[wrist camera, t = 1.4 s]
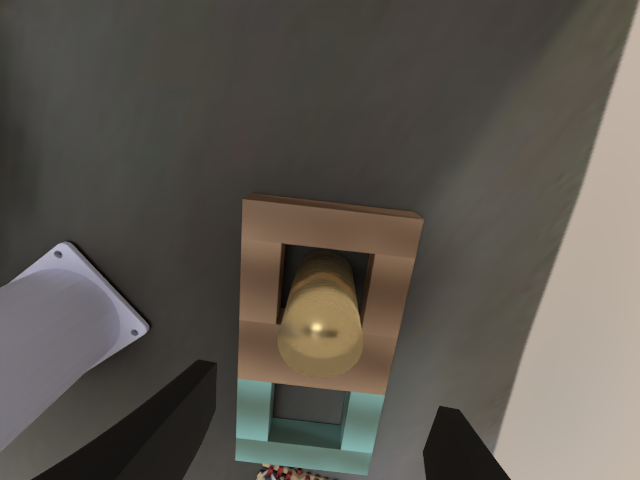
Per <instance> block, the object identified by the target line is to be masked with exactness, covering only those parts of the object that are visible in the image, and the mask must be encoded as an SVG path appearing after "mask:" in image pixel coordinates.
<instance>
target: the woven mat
mask: <svg viewBox="0 0 640 480" xmlns="http://www.w3.org/2000/svg"><path fill="white" fill-rule="evenodd" d="M262 466H265V467H268V468H269V469H267V470H266V471H265V472H263V471H260V472H259V474H258V475H257V477H258V479H257V478H256V480H328V479H325V478H321V477H318V476H314V475H311V474H307V473H305V472H303V473H301V470H298V469H297V471H295V470H294V469H290V468H287V467H283V466H280V465H272V464H263V465H262ZM273 469H274V470H277V474H275V473H273ZM282 472H283V473H286V476H285V477H284V476H281V474H282Z"/></svg>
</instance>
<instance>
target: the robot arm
mask: <svg viewBox="0 0 640 480" xmlns="http://www.w3.org/2000/svg"><path fill="white" fill-rule="evenodd" d="M60 252H61V253H62V255H61V254H60ZM135 330H136V331H137V332H136V331H135ZM148 330H149V325H148V323H147V322H146V321H145V320H144V319H143V318H142V317H141V316H140V315H139V314H138V313H137V312H136V311H135V310H134V309H133V308H132V306H131V305H130V304H129V303H128V302H127V301H126V300H125V299H124V298H123V297H122V296H121V295H120V294H119V293H118V292H117V291H116V290H115V289H114V288H113V286H112V285H111V284H110V283H109V282H108V281H107V280H106V279H105V278H104V277H103V276H102V275H101V274H100V273H99V272H98V271H97V270H96V269H95V268H94V266H93V265H92V264H91V263H90V262H89V261H88V260H87V259H86V258H85V257H84V256H83V255H82V254H81V253H80V252H79V251H78V250H77V249H76V248H75V246H74V245H72V244H71V243H69V242H62V243H60V244H58V245H56V246H55V247H54V248H53V249H51V250H50V251H49V252H48V253H46V254H45V255H44V256H43V257H41V258H40V259H39V260H37V261H36V262H35V263H34V264H32V265H31V266H30V267H29V268H27V269H26V270H25V271H24V272H22V273H21V274H20V275H19V276H17V277H16V278H15V279H13V280H12V281H11V282H10V283H8V284H7V285H4V286H2V287H0V452H1V451H2V450H3V449H4V448H6V447H7V446H8V445H9V444H10V443H11V442H12V441H13V440H14V439H15V438H16V437H17V436H18V435H19V434H20V433H22V432H23V431H24V430H25V429H26V428H27V427H28V426H29V425H30V424H31V423H32V422H33V421H34V420H35V419H36V418H38V417H39V416H40V415H41V414H42V413H43V412H44V411H45V410H46V409H47V408H48V407H49V406H50V405H51V404H52V403H54V402H55V401H56V400H57V399H58V398H59V397H60V396H61V395H62V394H63V393H64V392H65V391H66V390H67V389H68V388H70V387H71V386H72V385H73V384H74V383H75V382H76V381H77V380H78V379H79V378H80V377H81V376H82V375H83V374H84V373H86V372H87V371H88V370H90V369H91V368H93V367H94V366H96V365H98V364H99V363H101V362H102V361H104V360H105V359H107V358H108V357H110V356H112V355H113V354H115V353H116V352H118V351H119V350H121V349H123V348H124V347H126V346H127V345H129V344H130V343H132V342H133V341H135V340H137V339H138V338H140V337H141V336H143V335H144V334H145V333H146V332H147V331H148ZM216 372H217V363H214V362H209V361H204V360H197V361H196V362H194V363H193V364H192V365H191V366H190V367H188V368H187V369H186V370H185V371H184V372H182V373H181V374H180V375H179V376H177V377H176V378H175V379H174V380H173V381H171V382H170V383H169V384H168V385H166V386H165V387H164V388H163V389H161V390H160V391H159V392H158V393H156V394H155V395H154V396H152V397H151V398H150V399H149V400H147V401H146V402H145V403H143V404H142V405H141V406H140V407H138V408H137V409H136V410H134V411H133V412H132V413H130V414H129V415H128V416H126V417H125V418H124V419H122V420H121V421H119V422H118V423H117V424H115V425H114V426H112V427H111V428H110V429H108V430H107V431H105V432H104V433H103V434H101V435H100V436H98V437H97V438H96V439H94V440H93V441H91V442H90V443H88V444H87V445H85V446H84V447H82V448H81V449H79V450H78V451H76V452H75V453H73V454H72V455H70V456H68V457H67V458H65V459H64V460H62V461H61V462H59V463H57V464H56V465H54V466H53V467H51V468H50V469H48V470H46V471H45V472H43V473H41V474H40V475H38V476H36V477H35V478H33V479H31V480H182V479H183V477H184V476H185V474H186V472H187V470H188V468H189V466H190V464H191V463H192V461H193V459H194V457H195V455H196V453H197V451H198V449H199V447H200V446H201V444H202V441H203V439H204V437H205V434H206V432H207V430H208V427H209V425H210V422H211V420H212V417H213V415H214V412H215V408H216ZM423 457H424V465H425V474H426V480H511V479H510V478H509V477H508V476H507V474H506V473H505V471H504V470H503V469H502V467H501V466H500V465H499V463H498V462H497V461H496V459H495V458H494V457H493V455H492V454H491V453H490V451H489V450H488V448H487V447H486V446H485V444H484V443H483V442H482V440H481V439H480V437H479V436H478V435H477V433H476V432H475V431H474V429H473V428H472V426H471V425H470V424H469V422H468V421H467V420H466V418H465V417H464V415H463V414H462V413H461V411H460V410H459V409H453V408H448V407H443V406H439V408H438V411H437V414H436V417H435V419H434V422H433V425H432V428H431V431H430V433H429V436H428V439H427V442H426V445H425V447H424V450H423Z"/></svg>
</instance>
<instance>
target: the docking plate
mask: <svg viewBox="0 0 640 480" xmlns="http://www.w3.org/2000/svg"><path fill="white" fill-rule="evenodd" d="M423 222H424V219H423V218H421V217H420V216H419V215H418V214H417V213H415V212H413V211H404V210H396V209H387V208H378V207H369V206H360V205H351V204H343V203H334V202H325V201H316V200H307V199H298V198H290V197H281V196H272V195H263V194H254V193H251V194H250V195H248V196H247V197H245V198H244V199H243V203H242V240H241V277H240V314H239V351H238V388H237V425H236V461H245V462H254V463H263V464H272V465H280V466H289V467H298V468H307V469H316V470H324V471H333V472H342V473H351V474H360V475H367V474H368V469H369V465H370V460H371V456H372V451H373V447H374V442H375V438H376V433H377V429H378V424H379V420H380V415H381V411H382V406H383V402H384V397H385V393H386V388H387V384H388V379H389V375H390V370H391V366H392V361H393V357H394V352H395V348H396V343H397V339H398V334H399V330H400V325H401V321H402V316H403V312H404V307H405V303H406V298H407V294H408V289H409V285H410V280H411V276H412V271H413V267H414V262H415V258H416V253H417V249H418V244H419V240H420V235H421V231H422V226H423ZM286 244H292V245H301V246H310V247H318V248H327V249H336V250H345V251H354V252H363V253H369V257H368V263H367V269H366V275H365V281H364V287H363V293H362V299H361V304H360V310H359V316H360V322H361V328H362V334H363V350H362V354H361V356H360V358H359V360H358V361H357V363H356V364H355V365H354V366H353V367H352V368H351V369H349V370H348V371H346V372H345V373H343V374H341V375H338V376H335V377H330V378H313V377H308V376H305V375H302V374H300V373H298V372H297V371H295V370H293V369H292V368H291V367H290V366H289V365H288V364H287V363H286V362H285V361H284V359H283V358H282V356H281V354H280V352H279V348H278V334H279V330H280V327H281V323H282V319H283V316H284V312H285V308H281V299H282V285H283V272H284V259H285V246H286ZM275 383H279V384H288V385H297V386H306V387H315V388H323V389H332V390H341V391H346V393H345V399H344V405H343V411H342V416H341V422H340V425H333V424H324V423H316V422H307V421H298V420H289V419H280V418H272V417H273V404H274V391H275Z"/></svg>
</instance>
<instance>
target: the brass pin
mask: <svg viewBox="0 0 640 480" xmlns="http://www.w3.org/2000/svg"><path fill="white" fill-rule="evenodd" d="M278 348H279V352H280V354H281V356H282V358H283V359H284V361H285V362H286V363H287V364H288V365H289V366H290V367H291V368H292V369H293V370H295V371H297V372H298V373H300V374H302V375H305V376H308V377H313V378H330V377H335V376H338V375H341V374H343V373H345V372H346V371H348V370H349V369H351V368H352V367H353V366H354V365H355V364H356V363H357V361H358V360H359V358H360V356H361V354H362V350H363V334H362V328H361V322H360V316H359V310H358V304H357V298H356V291H355V285H354V279H353V273H352V269H351V266H350V264H349V262H348V261H347V260H346V259H345V258H344V257H343V256H342V255H341V254H339V253H337V252H335V251H331V250H316V251H313V252H310V253H309V254H307V255H306V256H304V257H303V258H302V259H301V261H300V262H299V264H298V266H297V268H296V272H295V276H294V279H293V283H292V287H291V290H290V294H289V297H288V301H287V305H286V308H285V312H284V316H283V319H282V323H281V327H280V330H279V334H278Z"/></svg>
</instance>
